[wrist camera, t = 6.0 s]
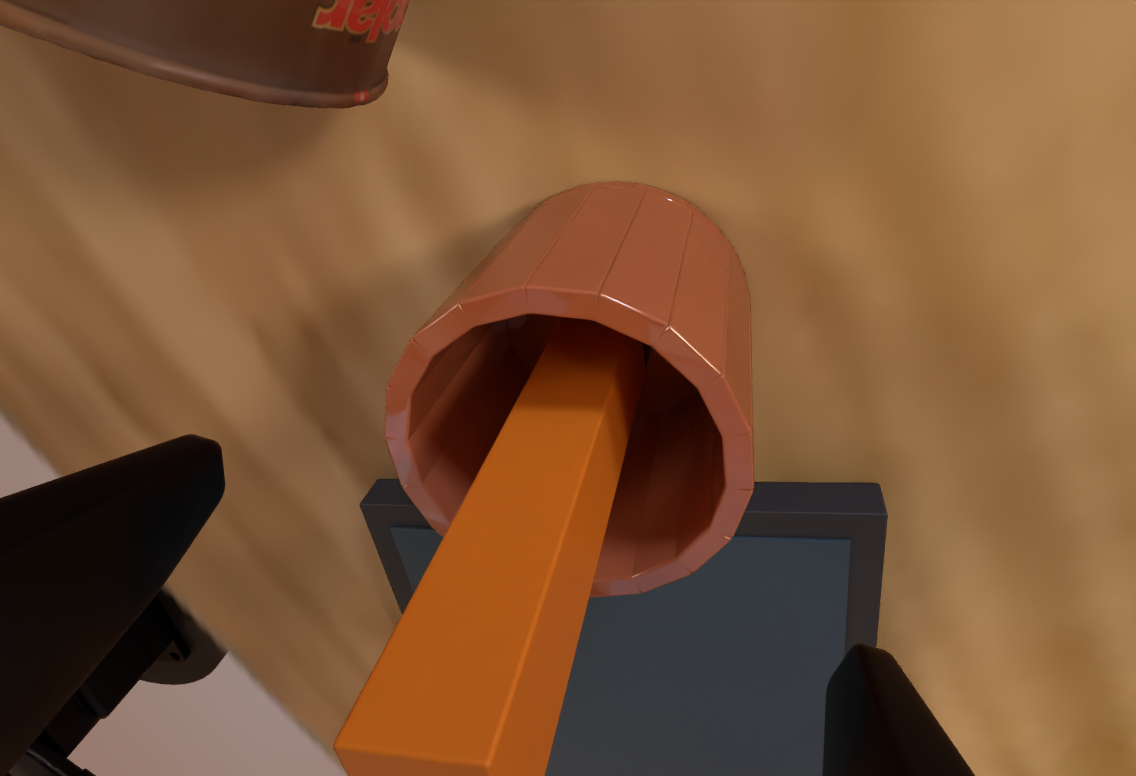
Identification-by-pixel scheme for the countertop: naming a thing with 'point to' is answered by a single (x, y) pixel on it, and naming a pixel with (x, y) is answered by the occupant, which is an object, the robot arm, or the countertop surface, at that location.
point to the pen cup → (623, 303)
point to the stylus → (507, 579)
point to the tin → (231, 43)
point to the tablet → (705, 638)
